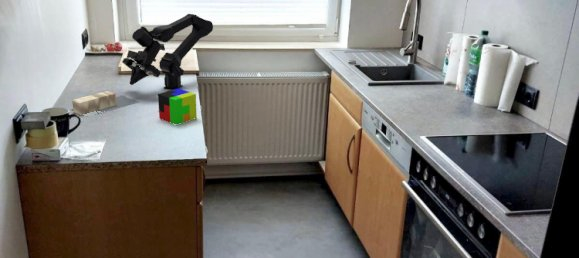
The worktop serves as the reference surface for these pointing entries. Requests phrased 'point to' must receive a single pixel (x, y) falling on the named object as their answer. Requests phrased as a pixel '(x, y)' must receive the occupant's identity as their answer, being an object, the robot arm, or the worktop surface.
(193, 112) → the puzzle toy
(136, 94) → the worktop surface
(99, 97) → the birch block
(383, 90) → the worktop surface
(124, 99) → the slate mat
